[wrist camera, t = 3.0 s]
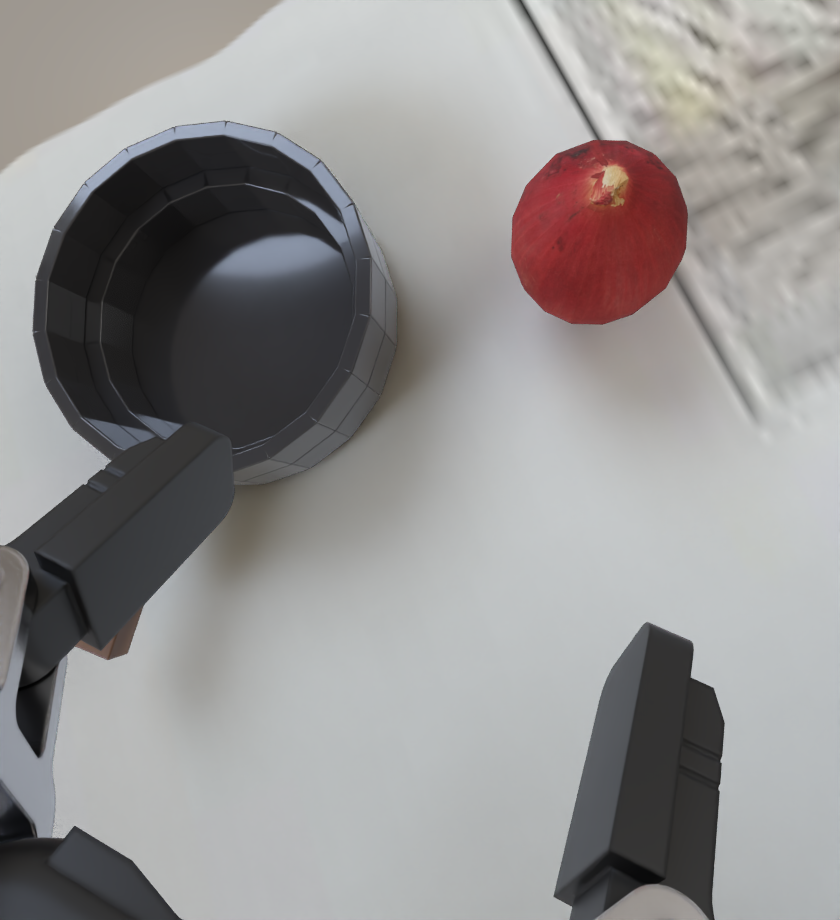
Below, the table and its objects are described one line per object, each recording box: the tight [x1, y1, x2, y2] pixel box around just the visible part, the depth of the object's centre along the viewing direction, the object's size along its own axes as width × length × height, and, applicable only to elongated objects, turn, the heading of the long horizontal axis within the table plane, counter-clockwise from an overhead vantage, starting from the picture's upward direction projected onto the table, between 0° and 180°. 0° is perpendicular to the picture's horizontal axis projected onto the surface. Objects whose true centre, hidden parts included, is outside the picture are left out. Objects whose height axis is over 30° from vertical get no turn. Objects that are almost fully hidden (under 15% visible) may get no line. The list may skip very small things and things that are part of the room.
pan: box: [33, 121, 397, 485], centre depth 26 cm, size 13×13×5 cm
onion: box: [511, 140, 688, 324], centre depth 22 cm, size 6×6×8 cm
